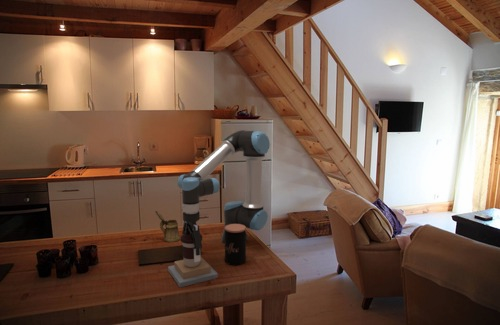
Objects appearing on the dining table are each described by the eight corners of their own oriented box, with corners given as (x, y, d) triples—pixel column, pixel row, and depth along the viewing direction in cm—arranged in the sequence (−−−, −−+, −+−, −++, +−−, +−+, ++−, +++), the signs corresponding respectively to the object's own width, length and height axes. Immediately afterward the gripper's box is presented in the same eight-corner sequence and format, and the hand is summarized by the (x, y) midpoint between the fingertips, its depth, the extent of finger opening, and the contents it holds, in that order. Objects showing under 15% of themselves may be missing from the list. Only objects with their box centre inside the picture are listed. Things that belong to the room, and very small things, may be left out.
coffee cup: (198, 269, 156) (197, 238, 154) (177, 267, 158) (176, 236, 156) (205, 260, 166) (205, 230, 163) (186, 258, 168) (185, 228, 165)
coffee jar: (220, 261, 177) (220, 227, 174) (235, 254, 184) (235, 222, 182) (235, 267, 170) (235, 232, 167) (250, 260, 177) (250, 227, 174)
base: (203, 262, 175) (203, 253, 174) (217, 277, 159) (217, 267, 159) (168, 270, 166) (167, 260, 165) (179, 287, 151) (179, 276, 150)
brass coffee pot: (156, 237, 207) (155, 208, 204) (179, 236, 210) (179, 207, 207) (156, 243, 199) (154, 213, 196) (180, 241, 202) (179, 211, 199)
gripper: (174, 205, 167) (176, 247, 170) (192, 220, 145) (193, 268, 149) (189, 203, 171) (190, 244, 174) (209, 218, 149) (209, 264, 152)
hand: (192, 255), depth 161 cm, fingers open, 13 cm apart
